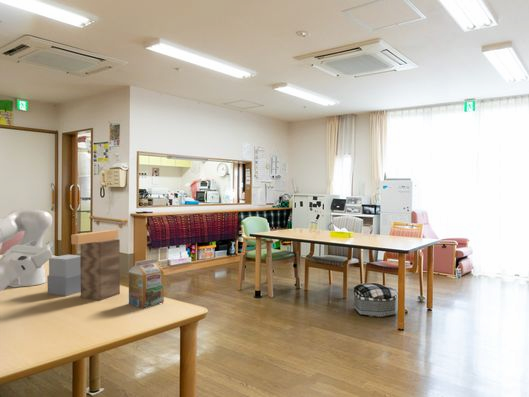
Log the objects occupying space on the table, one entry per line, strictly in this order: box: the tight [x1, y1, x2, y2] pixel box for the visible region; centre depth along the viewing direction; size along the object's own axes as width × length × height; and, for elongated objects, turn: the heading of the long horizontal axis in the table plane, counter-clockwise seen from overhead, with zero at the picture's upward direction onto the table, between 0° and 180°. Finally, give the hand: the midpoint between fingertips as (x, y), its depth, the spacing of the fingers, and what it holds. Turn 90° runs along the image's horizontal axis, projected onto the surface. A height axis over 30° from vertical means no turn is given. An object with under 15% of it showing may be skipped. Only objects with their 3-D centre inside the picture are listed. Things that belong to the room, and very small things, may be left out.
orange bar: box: [70, 229, 119, 246], centre depth 185 cm, size 4×24×4 cm, turn 158°
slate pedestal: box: [46, 254, 81, 297], centre depth 194 cm, size 12×12×17 cm
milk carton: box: [128, 258, 165, 309], centre depth 175 cm, size 11×11×19 cm
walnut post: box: [79, 238, 121, 301], centre depth 187 cm, size 12×12×26 cm
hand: (43, 242), depth 162 cm, fingers open, 8 cm apart
